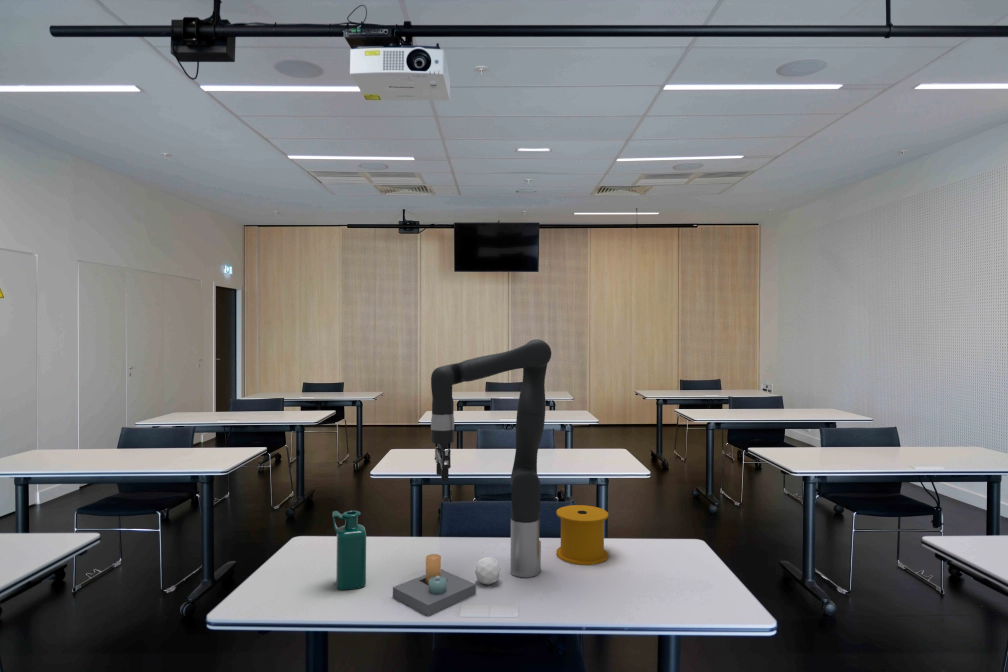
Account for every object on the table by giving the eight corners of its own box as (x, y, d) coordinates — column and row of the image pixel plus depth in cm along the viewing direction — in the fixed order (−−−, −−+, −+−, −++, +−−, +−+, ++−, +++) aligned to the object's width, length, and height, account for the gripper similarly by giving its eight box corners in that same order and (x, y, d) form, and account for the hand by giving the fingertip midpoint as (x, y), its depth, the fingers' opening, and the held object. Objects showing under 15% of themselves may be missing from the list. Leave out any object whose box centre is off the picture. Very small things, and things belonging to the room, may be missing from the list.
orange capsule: (434, 585, 168) (434, 552, 168) (443, 590, 165) (443, 556, 165) (422, 590, 165) (422, 556, 165) (432, 595, 162) (432, 560, 162)
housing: (440, 578, 173) (440, 556, 173) (475, 594, 162) (476, 570, 162) (392, 597, 160) (392, 573, 160) (428, 616, 149) (428, 590, 149)
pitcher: (364, 576, 174) (364, 506, 175) (366, 588, 166) (366, 514, 166) (331, 580, 171) (332, 509, 171) (332, 592, 163) (332, 517, 163)
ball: (491, 594, 169) (494, 580, 164) (469, 581, 171) (471, 567, 166) (503, 574, 174) (506, 559, 170) (481, 562, 177) (483, 547, 172)
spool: (612, 565, 184) (612, 520, 184) (558, 564, 185) (558, 519, 185) (603, 545, 202) (603, 504, 202) (554, 545, 203) (554, 504, 203)
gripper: (458, 430, 174) (458, 482, 174) (449, 424, 187) (449, 472, 187) (435, 431, 172) (434, 484, 171) (427, 425, 185) (427, 473, 185)
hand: (442, 477), depth 179 cm, fingers open, 8 cm apart
